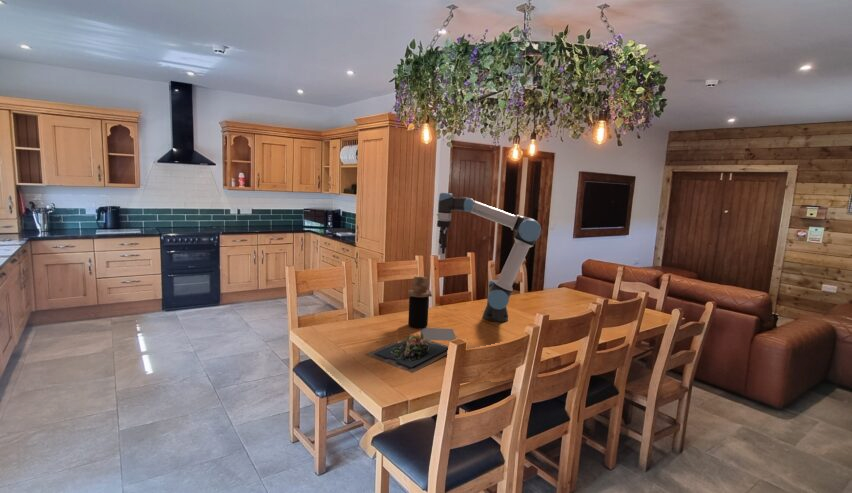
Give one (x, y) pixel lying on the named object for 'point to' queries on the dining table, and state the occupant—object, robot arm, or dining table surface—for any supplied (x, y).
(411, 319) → the coffee jar
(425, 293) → the lid
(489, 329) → the dining table surface
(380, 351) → the plated dish
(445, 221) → the robot arm
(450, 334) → the mat
